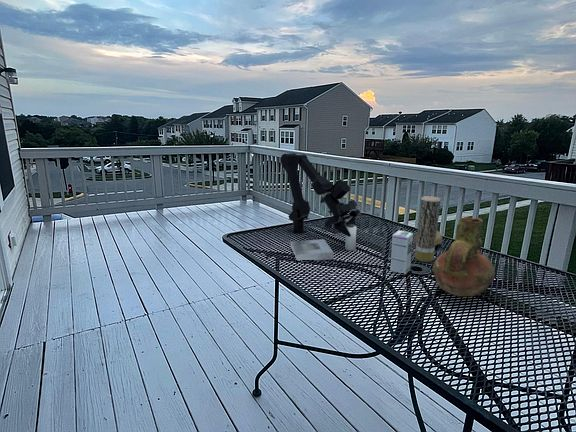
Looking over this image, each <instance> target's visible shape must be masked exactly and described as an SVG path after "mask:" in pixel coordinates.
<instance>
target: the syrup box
mask: <svg viewBox="0 0 576 432" xmlns="http://www.w3.org/2000/svg"><path fill="white" fill-rule="evenodd" d="M413 240H414V233H413V232H411V231H406V230H399V229H398V230H397V231H396V232H394V233H393V234H392V241H391V255H390V269H389V270H390V272H394V273H397V272H399V273H398V274H401V273H404V274H403V275H406V274H407V273H408V272H409V271H410V270H411V265H412V264H411V263H412V257H413V256H412V255H413V244H414V241H413Z"/></svg>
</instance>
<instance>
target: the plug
mask: <svg viewBox="0 0 576 432" xmlns="http://www.w3.org/2000/svg"><path fill="white" fill-rule="evenodd" d="M345 226H346V227H347V229H348V231H349V233H350V235H351V236H350V237H348V236H347V235H345V239H344V241H345V242H344V243H345V244H344V249H345V250H346V251H355V250H356V245H357V234H356V229H357V230H358V227H357V225H356V226H354V224H348V225H345Z"/></svg>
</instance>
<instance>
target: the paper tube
mask: <svg viewBox="0 0 576 432" xmlns="http://www.w3.org/2000/svg"><path fill="white" fill-rule="evenodd" d="M441 200H442V199H441V197H438V196H431V195H430V196H429V195H424V196H421V198H420V203H419V205H420V207H419V217H418V223H417V232H416V234H417V242H416V243H415V253H414V258H415V259H416V260H418V261H420V262H424V263H430V262H432V261H433V260H434V255H435V249H436V245H435V241H436V233H437V231H438V226H439V225H438V224H439V215H440V210H441V209H440V208H441V202H442V201H441Z"/></svg>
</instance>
